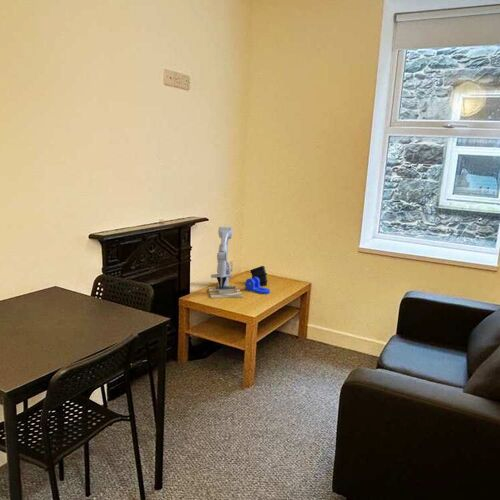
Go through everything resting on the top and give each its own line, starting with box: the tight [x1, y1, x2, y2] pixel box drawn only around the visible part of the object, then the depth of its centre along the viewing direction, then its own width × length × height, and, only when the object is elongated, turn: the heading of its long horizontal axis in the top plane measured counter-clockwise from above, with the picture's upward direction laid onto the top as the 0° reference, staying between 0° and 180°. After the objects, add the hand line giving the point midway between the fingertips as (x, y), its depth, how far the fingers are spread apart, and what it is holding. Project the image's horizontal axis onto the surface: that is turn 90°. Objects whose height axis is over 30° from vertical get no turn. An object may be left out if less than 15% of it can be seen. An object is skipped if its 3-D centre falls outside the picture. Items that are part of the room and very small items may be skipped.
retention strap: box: [214, 285, 237, 290], centre depth 314 cm, size 4×15×2 cm, turn 100°
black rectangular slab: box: [249, 265, 269, 287], centre depth 337 cm, size 4×13×15 cm, turn 66°
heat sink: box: [217, 285, 233, 294], centre depth 314 cm, size 10×10×3 cm
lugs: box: [212, 285, 237, 293], centre depth 314 cm, size 6×17×4 cm, turn 101°
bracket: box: [244, 276, 271, 295], centre depth 322 cm, size 18×8×9 cm, turn 54°
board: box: [208, 286, 244, 299], centre depth 314 cm, size 20×22×1 cm
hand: (221, 287), depth 313 cm, fingers closed on retention strap
